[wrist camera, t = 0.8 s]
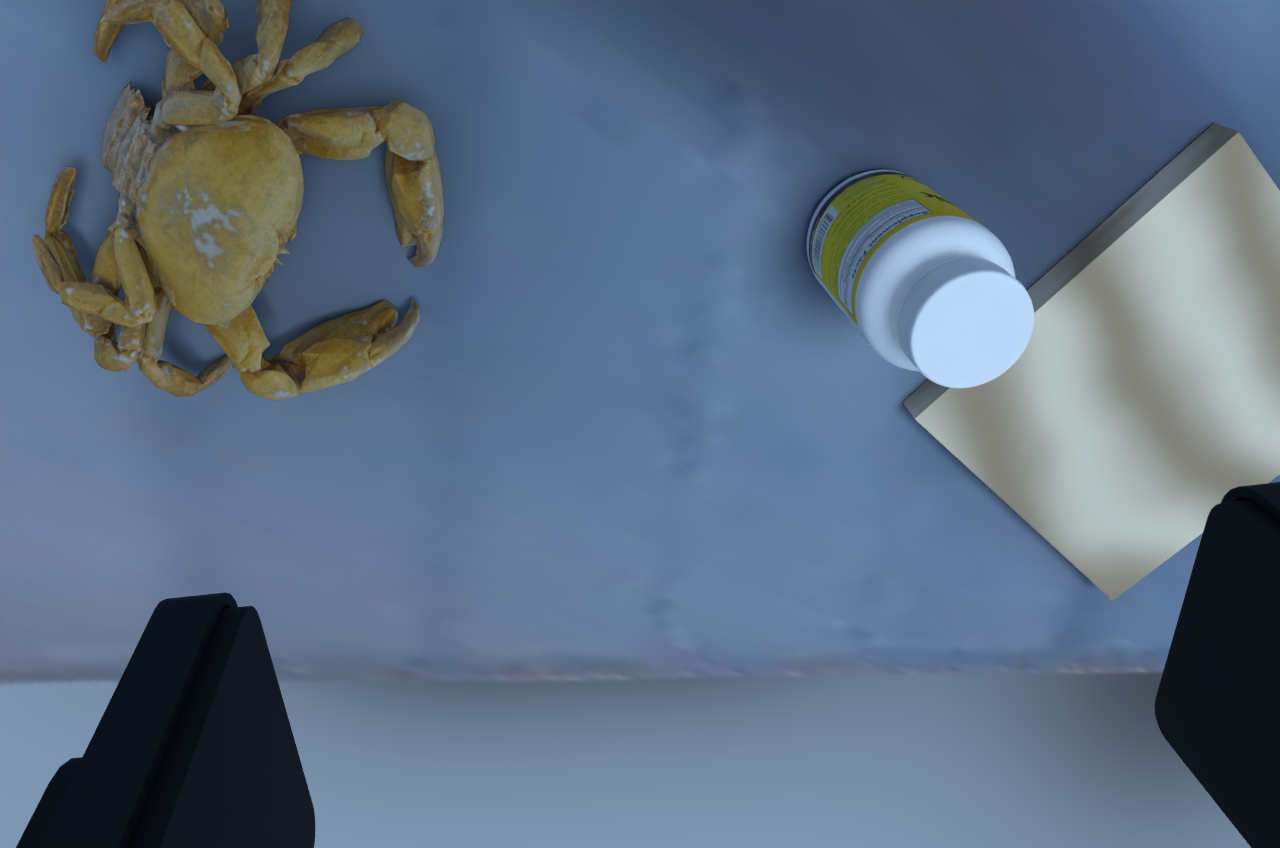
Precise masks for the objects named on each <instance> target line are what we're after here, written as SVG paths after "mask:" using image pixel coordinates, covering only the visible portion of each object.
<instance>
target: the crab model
mask: <svg viewBox="0 0 1280 848" xmlns="http://www.w3.org/2000/svg"><path fill="white" fill-rule="evenodd" d="M290 6H291V0H257V3H256V11H255V15H256V16H257V17H258V23H257V30H256V34H255V40H256V43H257V46H258V49H259V53H257V54H253V55H249V56H247V57H244V58H242V59H239V60H237V61H235V62H232V63H230V62H229V61H228V60H227V59H226V58H225V57H224V56H223V55H222V54H221V52H220V51H219V49H218V48H219V46H220V44H221V43H222V41H223V39H224V36H225V32H226V29H227V28H229V22H228V18H227V13H226V11H225V8H224V6H223V4H222V3H221V2H220V1H219V0H107V2H106V5H105V7H104V9H103V12H102V15H101V17H100V20H99V23H98V26H97V28H96V31H95V39H94V52H95V54H96V55H97V56H98V58H99V59H100V60H101V61H102V62H106V63H107V59H108V55H109V52H110V50H111V47H112V45H113V43H114V42H115V41H116V39H117V37H118V35H119V33H120V32H121V31H122V29H123V28H124V26H125V25H129V24H135V23H141V22H153V24H154V25H155V26H156V28H157V29H158V31H159V33H160V34H161V36H162V38H163V40H164V41H165V43H166V44H167V45H168V46H169V47H170V48H171V49H170V51H169V52H168V55H167V59H166V76H165V77H164V79H163V81H162V82H161V87H162V100H161V101H159V102H158V103H157V104H156V108H155V112H154V116H148V115H149V112H150V109H151V107H150V108H147V107H146V106H145V105H144V100H143V97H142V95H141V93H140V91H139V89H138V90H137V91H136V92H135V90H134V88H132V89H131V90H130V88H131V82H130V83H129V85H128V87H126V88H125V87H124V89H123V91H122V93H121V95H120V97H119V99H118V101H117V103H116V105H115V107H114V109H113V111H112V113H111V114H110V116H109V118H108V121H107V125H106V128H105V132H104V136H103V145H102V154H101V161H102V164H103V166H104V167H105V168H106V169H107V170H108V171H109V172H110V173H111V176H112V178H113V181H112V185H113V186H114V188H115V189H116V190H117V191H118V192H119V193H120V197H119V200H118V204H119V210H118V213H117V217H116V220H115V221H114V222H113V223H112V224H111V225H110V226H109V227H108V228H107V231H108V236H107V237H106V238H105V239H104V240H103V242H102V244H101V245H100V247H99V249H98V252H97V256H96V260H95V264H94V268H93V272H92V276H91V279H90V283H89V282H86V277H85V275H84V273H83V271H82V269H81V267H80V264H79V261H78V258H77V254H76V251H75V247H74V245H73V243H72V241H71V239H70V237H69V235H68V234H66V233H65V232H63V231H62V230H60V229H61V228H62V227H63V226H64V225H65V224H66V223H67V221H68V216H69V210H70V204H71V201H72V198H73V195H74V191H75V190H74V189H73V186H74V183H75V181H76V176H77V171H78V169H77V168H73V167H69V166H67V167H66V168H65V169H64V170H63V171H62V172H61V173H59V174H58V175H57V178H56V181H55V184H54V186H53V189H52V192H51V196H50V200H49V204H48V208H47V212H46V231H45V236H44V240H43V239H42V238H41V237H40V236H39V235H33V252H34V256H35V258H36V260H37V262H38V265H39V267H40V269H41V271H42V273H43V275H44V278H45V280H46V282H47V284H48V286H49V288H50V289H51V290H53V291H54V292H56V293H57V294H59V295H60V296H61V298H62V302H61V303H63V304H65V305H66V306H68V307H70V308H71V311H72V315H73V316H74V318H75V320H76V321H77V322H78V324H79V325H80V327H81V328H82V330H84V331H85V332H87V333H89V334H90V335H92V336H93V337H95V338H96V337H97V338H96V340H95V342H94V358H95V360H96V362H97V363H98V365H99V366H100V367H102V368H104V369H107V370H111V371H122V370H125V371H126V370H127V369H128V368H129V367H130V366H131V365H132V364H133V363H134V362H135V361H136V360H137V362H138V365H139V369H140V370H141V371H142V372H143V373H144V374H145V375H146V376H147V378H148V379H149V380H150V381H151V382H152V383H153V384H154V385H155V386H156V387H158V388H160V389H162V390H165V391H168V392H169V393H171V394H173V395H175V396H177V397H180V396H193V395H194V394H196V393H197V392H199V391H201V390H203V389H206V388H207V387H209V386H210V385H212V384H213V383H215V382H216V381H217V380H219V379H220V378H221V377H223V376H224V375H225V374H226V373H227V372H228V371H230V369H231V368H232V366H233V367H234V368H236V369H237V370H239V371H240V377H241V381H242V382H243V384H244V385H245V387H246V388H247V390H248V391H249V392H251V393H253V394H256V395H258V396H261V397H263V398H266V399H269V400H272V401H278V400H284V399H288V398H291V397H295V396H298V395H300V394H302V393H307V392H313V391H318V390H322V389H325V388H329V387H332V386H336V385H339V384H343V383H346V382H350V381H353V380H355V379H357V378H358V377H360V376H361V375H363V374H364V373H366V372H367V371H368V370H370V369H372V368H373V367H375V366H376V365H378V364H380V363H381V362H383V361H384V360H386V359H387V358H389V357H390V356H391V355H393V354H394V353H396V352H397V351H398V350H399V349H400V348H401V347H402V346H403V345H404V344H405V343H406V342H407V341H408V340H409V339H410V338H411V337H412V335H413V333H414V331H415V329H416V327H417V325H418V323H419V321H420V306H419V305H418V304H417V303H416V302H415V301H414V300H413V299H412V301H411V304H410V307H409V310H408V312H407V314H406V316H405V317H404V318H403V320H402V321H401V322H400V324H398V325H397V326H395V324H396V322H397V320H398V312H397V311H396V309H395V308H394V307H393V305H392V304H390V303H388V302H387V301H385V300H383V301H381V302H379V303H377V304H375V305H373V306H370V307H368V308H366V309H363V310H359V311H355V312H351V313H347V314H345V315H343V316H341V317H338V318H336V319H333V320H329V321H326V322H324V323H322V324H320V325H318V326H316V327H314V328H312V329H311V330H309V331H308V332H306V333H305V334H304V335H302V336H300V337H299V338H297V339H295V340H293V341H292V342H290V343H288V344H286V345H285V346H284V347H283V348H282V350H281V352H280V354H278V355H276V356H275V357H274V358H272V359H271V360H270V361H269V360H267V359H266V358H265V357H264V354H263V352H264V351H265V350H266V348H267V347H268V346H269V345H270V343H269V341H268V340H267V338H266V336H265V334H264V331H263V329H262V327H261V324H260V322H259V320H258V318H257V316H256V313H255V311H254V310H253V308H252V306H251V304H252V302H253V301H254V299H255V298H256V297H257V295H258V294H259V292H260V291H261V289H262V287H263V285H264V284H265V282H266V281H267V280H268V278H269V277H270V276H271V275H272V273H273V272H274V265H275V263H276V264H280V265H283V264H282V263H281V261H280V260H279V259H278V256H279V254H290V253H289V252H288V250H287V249H286V248H285V244H286V243H287V241H290V242H292V241H293V239H294V238H295V237H296V235H297V226H296V223H297V220H298V215H299V213H300V211H301V208H302V205H303V195H304V178H303V171H302V165H301V161H300V157H299V155H300V154H303V153H306V154H309V155H313V156H316V157H319V158H323V159H332V160H357V159H362V158H366V157H370V153H371V150H373V149H374V148H376V147H377V146H378V145H380V144H381V143H382V142H384V141H386V155H385V172H386V184H387V188H388V192H389V196H390V199H391V203H392V207H393V211H394V215H395V219H396V222H397V227H396V234H397V237H398V239H399V241H400V244H401V246H402V247H403V248H407V247H410V246H411V245H413V246H415V245H417V251H416V255H415V256H412V257H409V258H407V259H408V260H409V261H410V262H411V263H412V264H413V265H414V266H415V267H416V268H417V267H422V266H426V265H430V264H431V263H432V262H433V261H434V260H435V257H436V255H437V252H438V250H439V247H440V242H441V238H442V234H443V217H444V198H443V185H442V178H441V171H440V166H439V162H438V157H437V154H436V152H435V150H434V146H435V138H434V132H433V126H432V124H431V122H430V121H429V119H428V118H427V116H426V114H425V113H424V112H422V111H421V110H419V109H417V108H416V107H414V106H411V105H409V104H407V103H405V102H402V101H400V100H397V99H393V100H392V101H391V102H389V103H388V104H387V105H386V106H365V107H344V108H323V109H318V110H313V111H308V112H303V113H298V114H293V115H289V116H287V117H285V118H283V119H281V120H280V121H279V122H278V124H277V125H275V124H274V123H273V122H271V121H270V120H268V119H266V118H263V117H261V116H259V115H254V112H255V111H256V110H257V109H259V108H260V106H261V104H262V101H263V99H264V98H265V97H267V96H268V95H269V94H271V93H273V92H276V91H279V90H282V89H285V88H288V87H292V86H295V85H298V84H299V83H301V82H302V81H303V80H304V78H305V76H307V75H309V74H311V73H314V72H317V71H320V70H324V69H327V68H328V67H329V66H330V65H331V64H332V63H333V62H334V61H335V59H337V58H338V57H340V56H342V55H343V54H345V53H347V52H349V51H350V50H351V49H352V48H354V47H355V46H356V45H357V44H359V43H360V42H361V40H360V36H361V35H362V34H363V32H362V29H361V26H360V23H359V22H357V21H355V20H353V19H350V18H348V17H347V18H345V19H343V20H341V21H339V22H337V23H335V24H333V25H331V26H329V27H327V28H326V29H325V30H324V31H323V33H322V34H321V35H320V36H319V38H318V39H317V40H316V41H315V43H313V44H310V45H308V46H306V47H304V48H302V49H300V50H298V51H296V52H295V54H294V55H293V56H292V57H291V58H290V59H285V60H280V61H279V58H280V55H281V52H282V49H283V46H284V43H285V40H286V38H287V35H288V26H289V16H288V13H289V10H290ZM191 15H192V16H193V17H192V16H191ZM278 61H279V62H278ZM203 73H204V74H205V75H206V76H207V77H208V78H209V79H208V80H205V82H204V84H203V86H202V88H201V89H200V90H198V91H196V90H195V87H194V83H193V81H194V80H195V79H196V78H197V77H199V76H200V75H201V74H203ZM121 285H122V286H123V289H124V293H125V296H126V298H125V299H124V300H122V299H120V298H119V297H117V294H118V291H119V289H120V287H121ZM171 306H172V308H173V309H174V310H176V311H177V312H179V313H180V314H182V315H183V316H185V317H186V318H188V319H189V320H191V321H192V322H194V323H200V324H205V326H206V328H207V329H208V330H209V332H210V333H211V334H212V336H213V337H214V339H215V340H216V341H217V343H218V344H219V346H220V347H221V348H222V349H223V350H224V352H225V353H226V355H224V356H223V357H222V358H221V359H219V360H218V361H217V362H215V363H213V364H211V365H209V366H207V367H206V368H205V369H204V370H203V371H202V372H201V373H200V374H199V375H198V376H197V377H195V376H194V375H193V374H191V373H188V372H186V371H184V370H182V369H181V368H179V367H176V366H174V365H172V364H171V363H170V362H165V361H160V360H158V359H159V358H160V356H161V355H162V353H163V342H164V336H165V331H166V326H167V322H168V318H169V313H170V309H171ZM118 324H119V325H121V331H120V335H119V340H118V342H116V330H117V325H118ZM394 326H395V327H394Z"/></svg>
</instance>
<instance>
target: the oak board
mask: <svg viewBox="0 0 1280 848" xmlns="http://www.w3.org/2000/svg"><path fill="white" fill-rule="evenodd" d="M1027 292H1028V294H1029V296H1030V298H1031V301H1032V304H1033V309H1034V326H1033V331H1032V334H1031V337H1030V340H1029V342H1028V344H1027V346H1026V348H1025V350H1024V352H1023V353H1022V355H1021V356H1020V357H1019V359H1018V360H1017V361H1016V362H1015V363H1014V364H1013V365H1012V366H1011V367H1010V368H1009V369H1008V370H1007V371H1006V372H1004V373H1003V374H1001V375H1000V376H998V377H997V378H995V379H993V380H991V381H989V382H987V383H984V384H981V385H978V386H975V387H970V388H949V387H944V386H941V385H938V384H936V383H934V382H932V381H931V380H929V379H928V380H927V381H926V382H924V383H923V384H922V385H921V386H920V387H919V388H918V389H917V390H915V391H914V392H913V393H912V394H911V395H910V396H909V397H908V398H907V399H905V400H904V401H903V402H902V403H903V404H904V405H905V407H906V408H907V409H908V411H909V412H910V413H911V415H912V416H913V417H914V419H915V420H916V421H917V422H919V423H920V424H921V425H922V426H923V427H924V428H925V429H926V430H927V431H928V432H929V433H931V434H932V435H933V436H934V437H935V438H936V439H937V440H938V441H939V442H940V443H941V444H943V445H944V446H945V447H946V448H947V449H948V450H949V451H950V452H951V453H952V454H953V455H954V456H956V457H957V458H958V459H959V460H960V461H961V462H962V463H963V464H964V465H965V466H966V467H968V468H969V469H970V470H971V471H972V472H973V473H974V474H975V475H976V476H977V477H978V478H980V479H981V480H982V481H983V482H984V483H985V484H986V485H987V486H988V487H989V488H990V489H991V490H993V491H994V492H995V493H996V494H997V495H998V496H999V497H1000V498H1001V499H1002V500H1003V501H1005V502H1006V503H1007V504H1008V505H1009V506H1010V507H1011V508H1012V509H1013V510H1014V511H1015V512H1017V513H1018V514H1019V515H1020V516H1021V517H1022V518H1023V519H1024V520H1025V521H1026V522H1027V523H1028V524H1030V525H1031V526H1032V527H1033V528H1034V529H1035V530H1036V531H1037V532H1038V533H1039V534H1040V535H1042V536H1043V537H1044V538H1045V539H1046V540H1047V541H1048V542H1049V543H1050V544H1051V545H1052V546H1054V547H1055V548H1056V549H1057V550H1058V551H1059V552H1060V553H1061V554H1062V555H1063V556H1064V557H1066V558H1067V559H1068V560H1069V561H1070V562H1071V563H1072V564H1073V565H1074V566H1075V567H1076V568H1077V569H1079V570H1080V571H1081V572H1082V573H1083V574H1084V575H1085V576H1086V577H1087V578H1088V579H1089V580H1091V581H1092V582H1093V583H1094V584H1095V585H1096V586H1097V587H1098V588H1099V589H1100V590H1101V591H1103V592H1104V593H1105V594H1106V595H1107V596H1108V597H1109V598H1110V599H1111V600H1112V601H1113V600H1115V599H1116V598H1117V597H1118V596H1120V595H1121V594H1122V593H1124V592H1125V591H1126V590H1128V589H1129V588H1130V587H1132V586H1133V585H1134V584H1136V583H1137V582H1138V581H1140V580H1141V579H1142V578H1144V577H1145V576H1146V575H1147V574H1149V573H1150V572H1151V571H1153V570H1154V569H1155V568H1157V567H1158V566H1159V565H1161V564H1162V563H1163V562H1165V561H1166V560H1167V559H1169V558H1170V557H1171V556H1173V555H1174V554H1175V553H1177V552H1178V551H1179V550H1180V549H1182V548H1183V547H1184V546H1186V545H1187V544H1188V543H1190V542H1191V541H1192V540H1194V539H1195V538H1196V537H1198V536H1199V535H1200V534H1202V533H1203V531H1204V528H1205V524H1206V521H1207V517H1208V515H1209V513H1210V511H1211V509H1212V508H1213V507H1214V506H1215V505H1217V504H1220V503H1221V501H1222V499H1223V497H1224V495H1225V494H1226V493H1227V492H1228V491H1229V490H1230V489H1233V488H1236V487H1239V486H1248V485H1258V484H1267V483H1269V482H1270V481H1271V480H1273V479H1274V478H1275V477H1277V476H1278V475H1279V474H1280V191H1279V189H1278V188H1277V186H1276V185H1275V184H1274V182H1273V181H1272V179H1271V178H1270V176H1269V175H1268V173H1267V172H1266V171H1265V169H1264V168H1263V166H1262V165H1261V163H1260V162H1259V160H1258V159H1257V158H1256V156H1255V155H1254V153H1253V152H1252V150H1251V149H1250V148H1249V146H1248V145H1247V143H1246V142H1245V140H1244V139H1243V137H1242V136H1241V135H1240V133H1239V132H1237V131H1235V130H1232V129H1229V128H1226V127H1223V126H1221V125H1218V124H1215V123H1213V124H1212V125H1211V126H1210V127H1209V128H1208V129H1207V130H1206V131H1204V132H1203V133H1202V134H1201V135H1200V136H1199V137H1198V138H1197V139H1195V140H1194V141H1193V142H1192V143H1191V144H1190V145H1189V146H1188V147H1187V148H1185V149H1184V150H1183V151H1182V152H1181V153H1180V154H1179V155H1178V156H1177V157H1175V158H1174V159H1173V160H1172V161H1171V162H1170V163H1169V164H1168V165H1166V166H1165V167H1164V168H1163V169H1162V170H1161V171H1160V172H1159V173H1158V174H1156V175H1155V176H1154V177H1153V178H1152V179H1151V180H1150V181H1149V182H1148V183H1146V184H1145V185H1144V186H1143V187H1142V188H1141V189H1140V190H1139V191H1137V192H1136V193H1135V194H1134V195H1133V196H1132V197H1131V198H1130V199H1129V200H1127V201H1126V202H1125V203H1124V204H1123V205H1122V206H1121V207H1120V208H1119V209H1117V210H1116V211H1115V212H1114V213H1113V214H1112V215H1111V216H1110V217H1108V218H1107V219H1106V220H1105V221H1104V222H1103V223H1102V224H1101V225H1100V226H1098V227H1097V228H1096V229H1095V230H1094V231H1093V232H1092V233H1091V234H1090V235H1088V236H1087V237H1086V238H1085V239H1084V240H1083V241H1082V242H1081V243H1079V244H1078V245H1077V246H1076V247H1075V248H1074V249H1073V250H1072V251H1071V252H1069V253H1068V254H1067V255H1066V256H1065V257H1064V258H1063V259H1062V260H1061V261H1059V262H1058V263H1057V264H1056V265H1055V266H1054V267H1053V268H1052V269H1050V270H1049V271H1048V272H1047V273H1046V274H1045V275H1044V276H1043V277H1042V278H1040V279H1039V280H1038V281H1037V282H1036V283H1035V284H1034V285H1033V286H1031V287H1030V288H1029V289H1028V290H1027Z"/></svg>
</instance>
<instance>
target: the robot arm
mask: <svg viewBox="0 0 1280 848" xmlns="http://www.w3.org/2000/svg"><path fill="white" fill-rule="evenodd" d="M1155 715H1156V719H1157V723H1158V726H1159V728H1160V730H1161V732H1162V734H1163V736H1164V737H1165V739H1166V740H1167V741H1168V743H1169V744H1170V745H1171V746H1172V748H1173V749H1174V750H1175V751H1176V753H1177V754H1178V755H1179V756H1180V758H1181V759H1182V760H1183V762H1184V763H1185V764H1186V765H1187V767H1188V768H1189V769H1190V771H1191V772H1192V773H1193V774H1194V775H1195V777H1196V778H1197V779H1198V781H1199V782H1200V783H1201V784H1202V786H1203V787H1204V788H1205V790H1206V791H1207V792H1208V793H1209V795H1210V796H1211V797H1212V798H1213V800H1214V801H1215V802H1216V803H1217V805H1218V806H1219V807H1220V808H1221V810H1222V811H1223V812H1224V813H1225V815H1226V816H1227V817H1228V818H1229V820H1230V821H1231V822H1232V824H1233V825H1234V826H1235V828H1236V829H1237V830H1238V831H1239V833H1240V834H1241V835H1242V836H1243V838H1244V839H1245V840H1246V841H1247V843H1248V844H1249V845H1250V846H1251V848H1280V482H1277V483H1267V484H1258V485H1248V486H1239V487H1236V488H1233V489H1230V490H1229V491H1228V492H1227V493H1226V494H1225V495H1224V497H1223V499H1222V501H1221V503H1220V504H1217V505H1215V506H1214V507H1213V508H1212V509H1211V511H1210V513H1209V515H1208V517H1207V521H1206V524H1205V528H1204V531H1203V535H1202V538H1201V542H1200V545H1199V549H1198V552H1197V556H1196V559H1195V563H1194V566H1193V570H1192V573H1191V577H1190V580H1189V584H1188V587H1187V591H1186V594H1185V598H1184V601H1183V605H1182V608H1181V612H1180V615H1179V619H1178V622H1177V626H1176V629H1175V633H1174V636H1173V640H1172V643H1171V647H1170V650H1169V654H1168V657H1167V661H1166V664H1165V668H1164V671H1163V675H1162V679H1161V682H1160V686H1159V689H1158V692H1157V696H1156V700H1155ZM314 842H315V815H314V808H313V804H312V801H311V797H310V793H309V790H308V786H307V783H306V779H305V776H304V772H303V769H302V765H301V762H300V758H299V755H298V751H297V748H296V744H295V741H294V737H293V734H292V730H291V727H290V723H289V719H288V716H287V712H286V709H285V705H284V702H283V698H282V695H281V691H280V688H279V684H278V681H277V677H276V674H275V670H274V667H273V663H272V660H271V656H270V653H269V649H268V646H267V642H266V639H265V635H264V632H263V628H262V625H261V621H260V618H259V615H258V613H257V611H256V609H255V608H254V607H252V606H246V607H238V606H237V603H236V601H235V599H234V598H233V597H232V595H231V594H228V593H218V594H208V595H199V596H189V597H180V598H170V599H165V600H163V601H161V602H159V604H158V605H157V607H156V608H155V610H154V612H153V614H152V616H151V618H150V620H149V622H148V624H147V626H146V628H145V630H144V632H143V634H142V636H141V638H140V641H139V643H138V645H137V647H136V649H135V651H134V653H133V655H132V657H131V659H130V661H129V663H128V665H127V667H126V669H125V671H124V673H123V675H122V677H121V679H120V682H119V684H118V686H117V688H116V690H115V692H114V694H113V696H112V698H111V700H110V702H109V704H108V706H107V708H106V710H105V712H104V715H103V716H102V718H101V721H100V723H99V725H98V727H97V729H96V731H95V733H94V735H93V737H92V739H91V741H90V743H89V745H88V747H87V749H86V751H85V754H84V755H83V757H81V758H72V759H70V760H69V761H68V762H66V763H65V764H63V765H62V766H61V767H60V768H59V769H58V771H57V772H56V774H55V775H54V777H53V778H52V780H51V781H50V783H49V784H48V786H47V788H46V790H45V792H44V794H43V796H42V798H41V800H40V802H39V804H38V806H37V808H36V810H35V812H34V814H33V816H32V818H31V820H30V821H29V823H28V825H27V827H26V829H25V831H24V833H23V835H22V837H21V839H20V841H19V843H18V845H17V847H16V848H314Z"/></svg>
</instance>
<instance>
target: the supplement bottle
mask: <svg viewBox="0 0 1280 848" xmlns="http://www.w3.org/2000/svg"><path fill="white" fill-rule="evenodd" d="M807 256H808V260H809V264H810V267H811V269H812V271H813V273H814V275H815V277H816V279H817V280H818V281H819V283H820V284H821V285H822V287H823V288H824V289H825V290H826V292H827V293H828V294H829V295H830V297H831V298H832V299H833V300H834V302H835V303H836V304H837V305H838V306H839V308H840V309H841V310H842V311H843V313H844V314H845V315H846V316H847V318H848V319H849V320H850V321H851V323H852V324H853V325H854V326H855V327H856V329H857V330H858V331H859V332H860V334H861V335H862V336H863V337H864V339H865V340H866V341H867V343H868V344H869V345H870V346H871V347H872V348H873V350H874V351H875V352H876V353H877V354H878V355H880V356H881V357H882V358H883V359H885V360H886V361H888V362H890V363H892V364H893V365H895V366H898V367H901V368H903V369H907V370H912V371H919V372H921V373H922V374H923V375H924V376H925V377H926V378H928V379H929V380H931V381H932V382H934V383H936V384H938V385H941V386H944V387H949V388H970V387H975V386H978V385H981V384H984V383H987V382H989V381H991V380H993V379H995V378H997V377H998V376H1000V375H1001V374H1003V373H1004V372H1006V371H1007V370H1008V369H1009V368H1010V367H1011V366H1012V365H1013V364H1014V363H1015V362H1016V361H1017V360H1018V359H1019V357H1020V356H1021V355H1022V353H1023V352H1024V350H1025V348H1026V346H1027V344H1028V342H1029V340H1030V337H1031V334H1032V331H1033V326H1034V309H1033V304H1032V301H1031V298H1030V296H1029V294H1028V292H1027V291H1026V289H1025V287H1024V286H1023V285H1022V284H1021V283H1020V282H1019V281H1018V280H1016V279H1015V272H1014V267H1013V264H1012V261H1011V258H1010V256H1009V254H1008V252H1007V250H1006V249H1005V247H1004V246H1003V244H1002V243H1001V242H1000V240H999V239H998V238H997V237H996V236H995V235H994V234H993V233H991V232H990V231H989V230H988V229H987V228H985V227H984V226H983V225H981V224H980V223H978V222H977V221H976V220H974V219H973V218H971V217H970V216H968V215H967V214H965V213H964V212H963V211H961V210H960V209H958V208H957V207H955V206H954V205H953V204H952V203H950V202H948V201H947V200H946V199H944V198H943V197H941V196H940V195H939V194H937V193H936V192H934V191H933V190H932V189H930V188H929V187H927V186H926V185H925V184H923V183H922V182H920V181H919V180H917V179H915V178H914V177H912V176H910V175H907V174H905V173H902V172H899V171H894V170H883V169H882V170H872V171H867V172H863V173H860V174H858V175H855V176H853V177H851V178H848V179H847V180H845V181H844V182H842V183H841V184H839V185H838V186H836V187H835V188H834V189H833V190H832V191H831V192H829V193H828V195H827V196H826V197H825V198H824V199H823V200H822V202H821V203H820V205H819V206H818V208H817V209H816V211H815V213H814V215H813V217H812V219H811V222H810V225H809V229H808V234H807Z"/></svg>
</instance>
